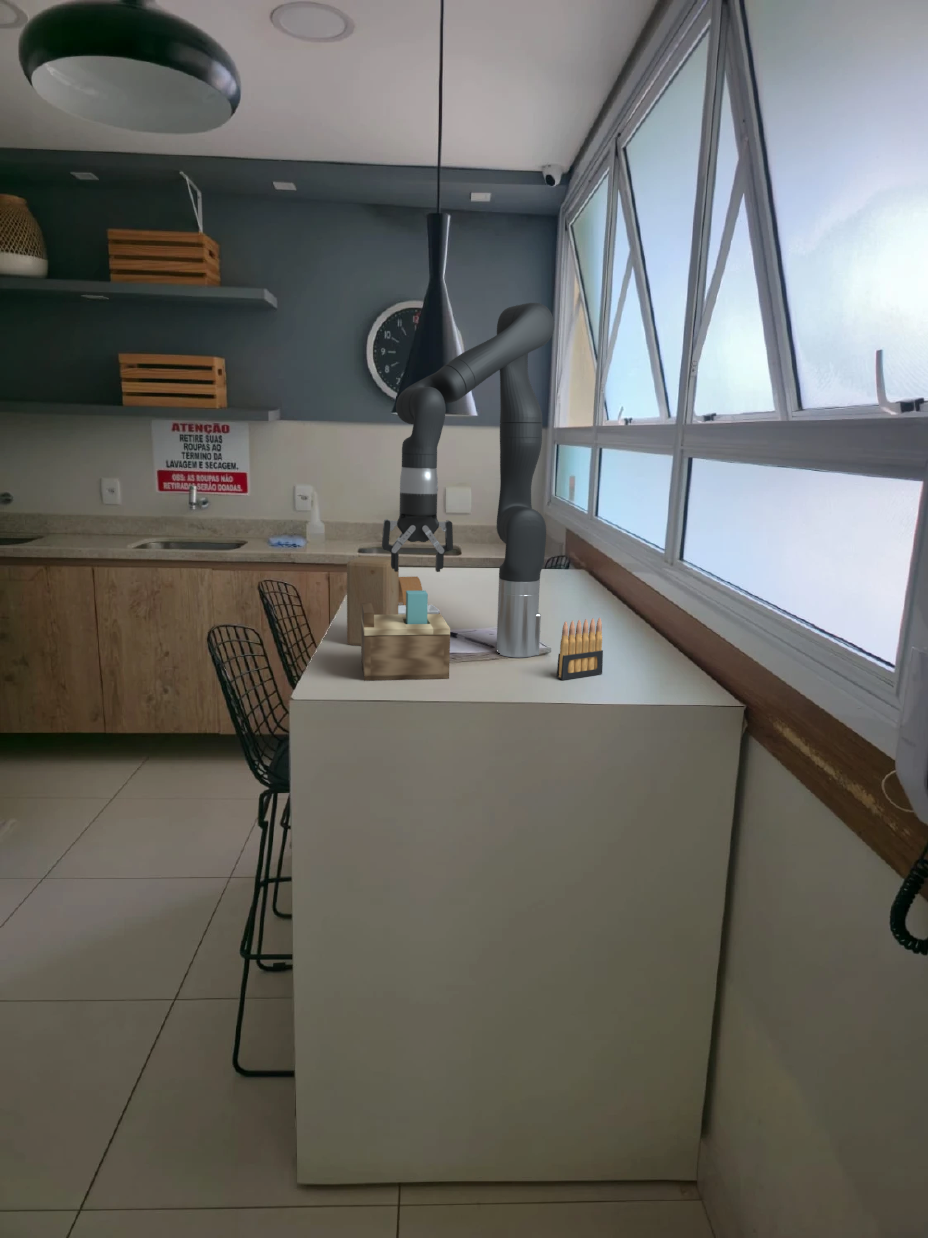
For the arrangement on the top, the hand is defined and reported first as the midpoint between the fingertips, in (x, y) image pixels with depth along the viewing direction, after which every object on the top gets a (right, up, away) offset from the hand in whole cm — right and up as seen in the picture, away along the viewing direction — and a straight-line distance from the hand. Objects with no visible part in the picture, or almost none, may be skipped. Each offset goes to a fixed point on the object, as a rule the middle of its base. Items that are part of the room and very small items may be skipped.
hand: (416, 571), depth 162 cm
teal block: (0, -15, +3) cm, 15 cm away
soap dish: (-3, -12, +45) cm, 46 cm away
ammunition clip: (+34, -22, +3) cm, 40 cm away
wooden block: (-12, -16, +26) cm, 33 cm away
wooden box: (-3, -20, +4) cm, 21 cm away
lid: (-3, -11, +2) cm, 12 cm away
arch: (-6, -8, +62) cm, 63 cm away
